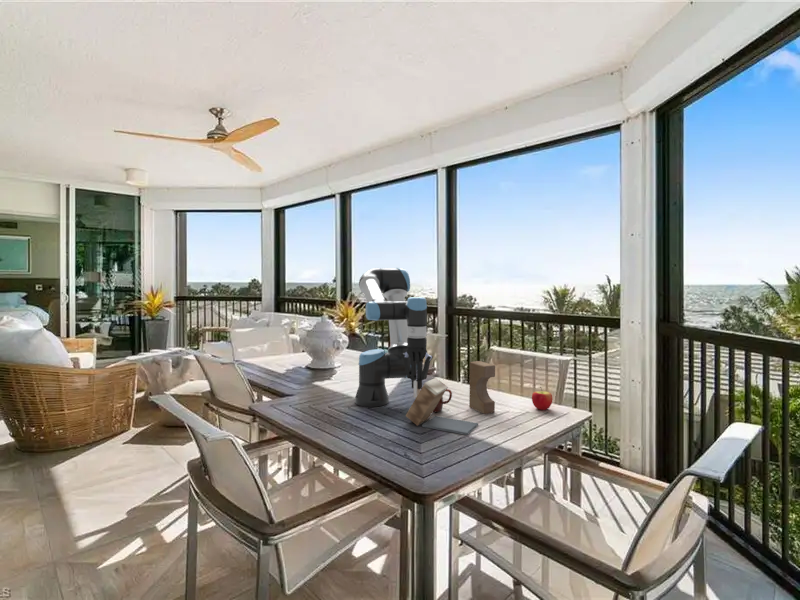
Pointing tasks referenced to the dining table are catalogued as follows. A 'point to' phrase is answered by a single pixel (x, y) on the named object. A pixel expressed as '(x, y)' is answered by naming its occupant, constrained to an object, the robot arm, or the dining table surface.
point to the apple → (542, 399)
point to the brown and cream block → (426, 401)
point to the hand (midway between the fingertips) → (416, 396)
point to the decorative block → (481, 387)
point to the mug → (442, 402)
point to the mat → (450, 425)
